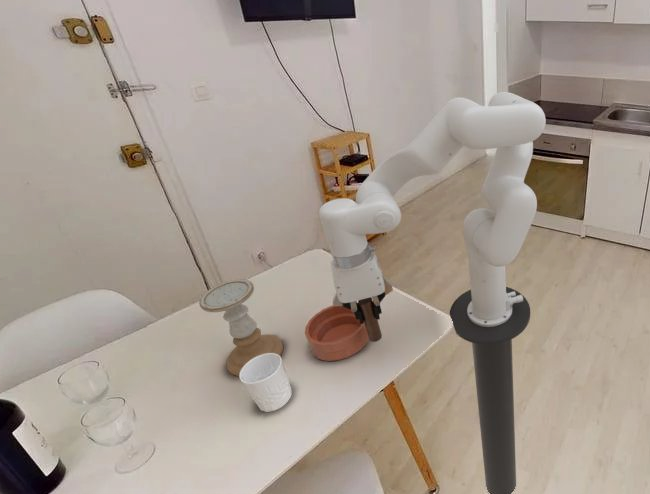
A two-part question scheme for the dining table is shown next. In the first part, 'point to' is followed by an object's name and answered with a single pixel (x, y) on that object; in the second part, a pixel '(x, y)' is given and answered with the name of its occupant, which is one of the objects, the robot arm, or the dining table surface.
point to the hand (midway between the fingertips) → (369, 317)
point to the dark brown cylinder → (370, 319)
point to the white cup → (266, 381)
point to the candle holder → (239, 323)
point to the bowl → (335, 333)
